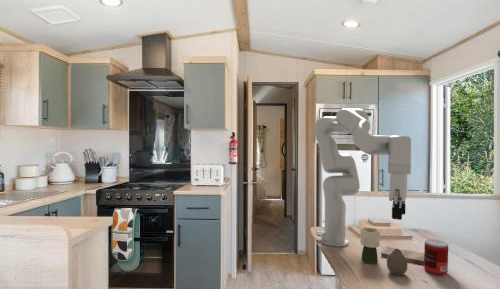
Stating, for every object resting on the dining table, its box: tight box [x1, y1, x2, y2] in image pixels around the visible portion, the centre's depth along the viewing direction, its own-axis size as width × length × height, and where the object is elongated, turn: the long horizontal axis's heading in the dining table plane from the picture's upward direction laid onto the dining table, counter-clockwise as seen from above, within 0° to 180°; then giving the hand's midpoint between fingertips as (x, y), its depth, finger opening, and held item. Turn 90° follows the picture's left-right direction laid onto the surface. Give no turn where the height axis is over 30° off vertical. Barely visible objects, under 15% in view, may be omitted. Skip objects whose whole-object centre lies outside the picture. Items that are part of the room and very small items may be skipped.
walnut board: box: [380, 246, 424, 266], centre depth 136 cm, size 16×10×2 cm, turn 58°
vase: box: [386, 248, 408, 277], centre depth 119 cm, size 7×7×9 cm
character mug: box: [359, 226, 381, 264], centre depth 130 cm, size 11×7×13 cm, turn 133°
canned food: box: [423, 238, 449, 277], centre depth 121 cm, size 8×8×11 cm
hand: (398, 216), depth 119 cm, fingers open, 9 cm apart
